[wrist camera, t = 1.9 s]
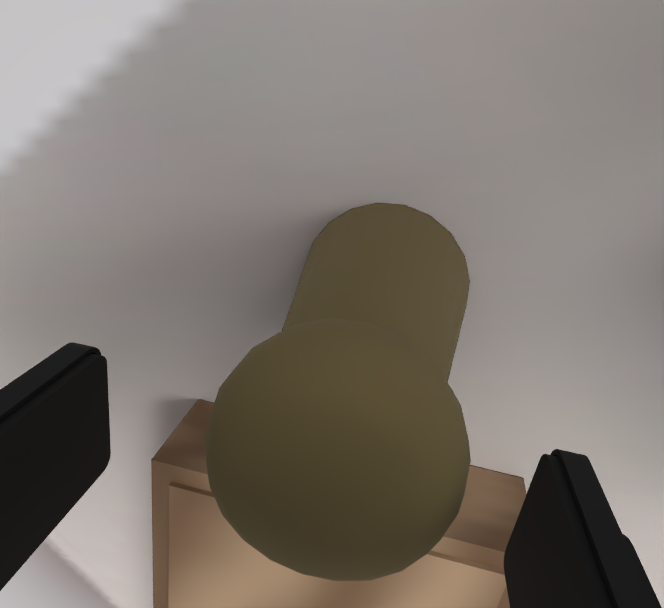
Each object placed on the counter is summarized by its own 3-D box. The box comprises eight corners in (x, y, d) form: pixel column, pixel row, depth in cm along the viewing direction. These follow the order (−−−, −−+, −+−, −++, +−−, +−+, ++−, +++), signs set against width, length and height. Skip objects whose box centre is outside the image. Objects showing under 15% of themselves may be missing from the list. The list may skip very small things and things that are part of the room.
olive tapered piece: (292, 209, 18) (112, 358, 8) (467, 195, 17) (503, 353, 7) (314, 358, 20) (193, 617, 10) (471, 357, 19) (501, 652, 9)
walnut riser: (523, 478, 21) (541, 566, 17) (444, 682, 26) (444, 782, 23) (198, 399, 22) (148, 463, 19) (191, 607, 28) (152, 688, 24)
